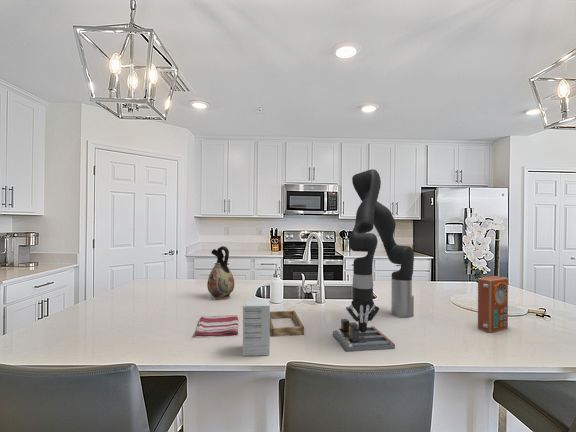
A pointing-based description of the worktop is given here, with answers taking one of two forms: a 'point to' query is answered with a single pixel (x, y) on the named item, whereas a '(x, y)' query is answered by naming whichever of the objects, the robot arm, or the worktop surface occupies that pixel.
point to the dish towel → (217, 326)
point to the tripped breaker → (352, 326)
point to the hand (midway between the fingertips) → (362, 331)
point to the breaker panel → (361, 338)
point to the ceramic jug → (220, 276)
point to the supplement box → (256, 327)
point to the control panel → (492, 303)
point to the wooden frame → (286, 330)
